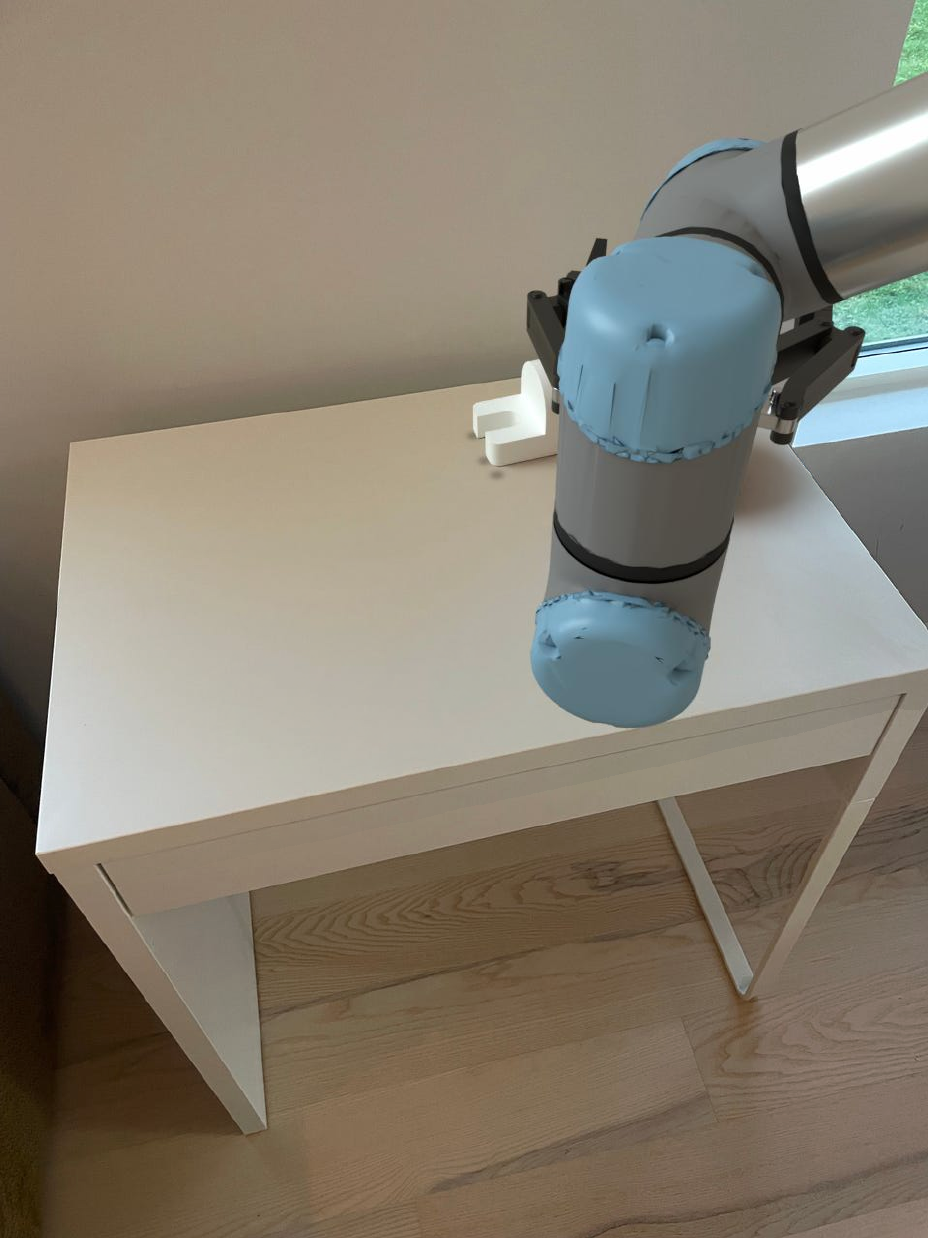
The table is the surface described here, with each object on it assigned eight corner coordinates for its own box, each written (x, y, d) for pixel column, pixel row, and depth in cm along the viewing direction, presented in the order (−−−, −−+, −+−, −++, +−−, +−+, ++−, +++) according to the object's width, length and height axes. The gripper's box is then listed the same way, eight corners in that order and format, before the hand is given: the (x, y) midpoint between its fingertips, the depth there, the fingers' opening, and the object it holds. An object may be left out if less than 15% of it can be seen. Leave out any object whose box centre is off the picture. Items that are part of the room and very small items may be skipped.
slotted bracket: (592, 400, 99) (598, 332, 93) (619, 440, 94) (627, 371, 88) (471, 425, 96) (469, 357, 91) (492, 467, 92) (492, 398, 86)
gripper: (434, 484, 56) (518, 298, 70) (886, 555, 51) (881, 340, 65) (427, 373, 51) (519, 194, 64) (933, 441, 46) (917, 232, 59)
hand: (701, 267), depth 65 cm, fingers open, 13 cm apart
